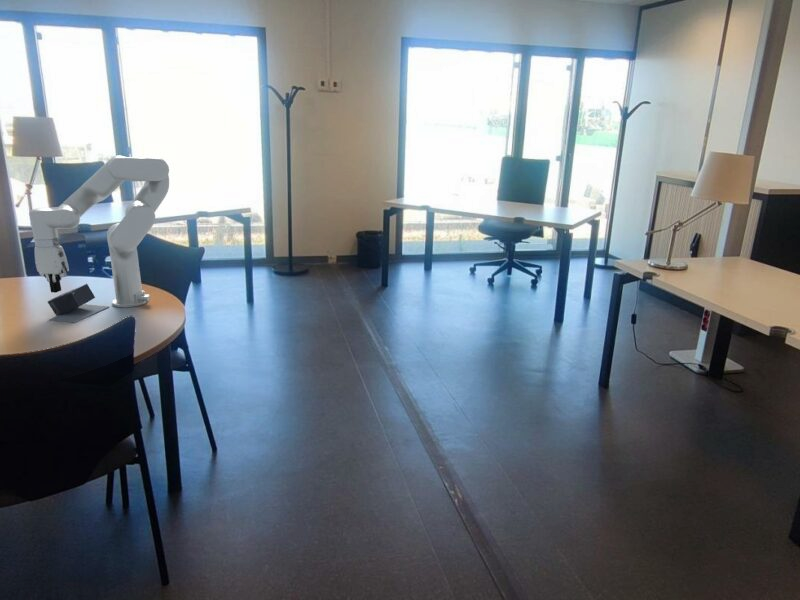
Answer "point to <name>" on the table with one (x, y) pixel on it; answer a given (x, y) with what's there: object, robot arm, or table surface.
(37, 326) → the table surface
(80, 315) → the mat
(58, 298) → the small box
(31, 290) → the table surface
